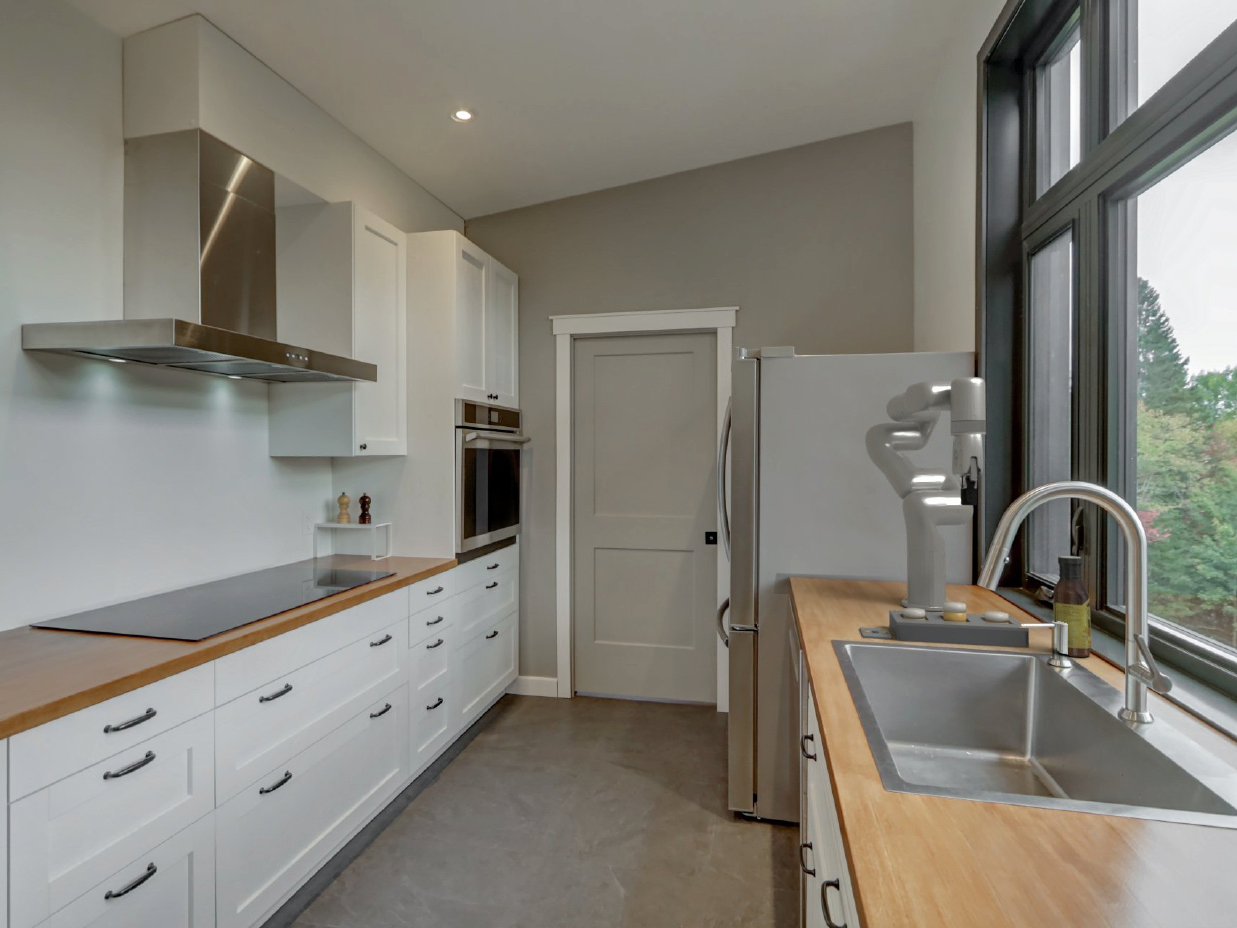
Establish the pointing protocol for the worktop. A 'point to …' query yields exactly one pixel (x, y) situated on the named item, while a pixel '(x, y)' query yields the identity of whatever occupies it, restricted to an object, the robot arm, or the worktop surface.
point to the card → (875, 633)
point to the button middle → (954, 611)
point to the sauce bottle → (1073, 605)
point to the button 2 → (996, 617)
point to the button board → (958, 630)
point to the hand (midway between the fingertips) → (968, 504)
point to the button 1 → (914, 613)
